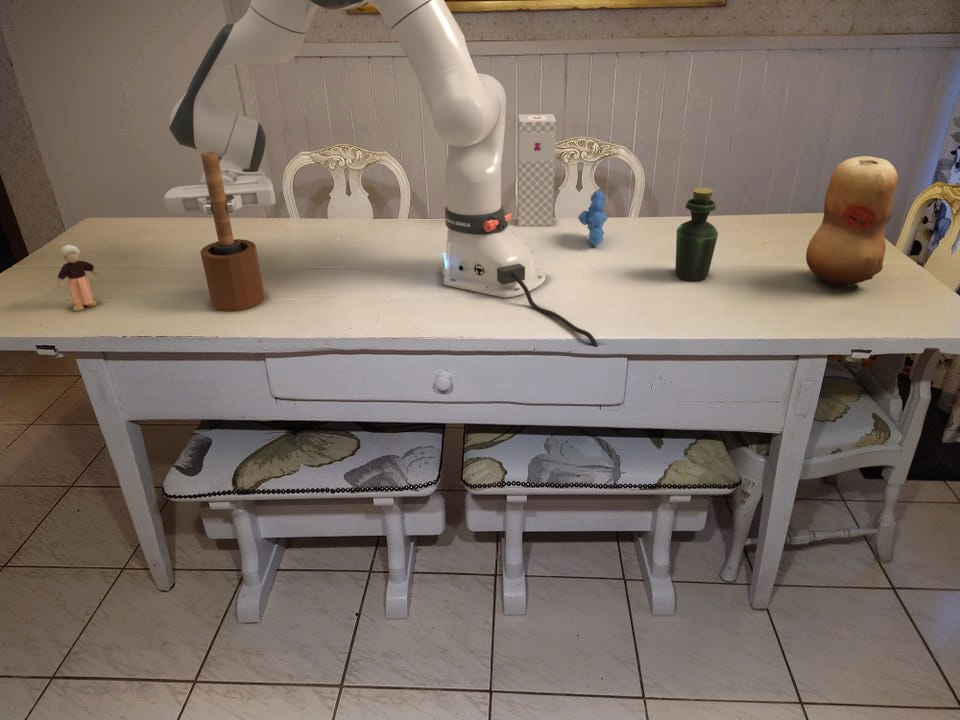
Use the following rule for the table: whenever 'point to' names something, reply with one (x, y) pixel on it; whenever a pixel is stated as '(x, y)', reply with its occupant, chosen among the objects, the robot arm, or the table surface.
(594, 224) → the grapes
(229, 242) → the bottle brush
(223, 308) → the cylindrical container
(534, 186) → the box
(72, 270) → the grandmother figurine
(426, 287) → the table surface
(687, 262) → the potion bottle
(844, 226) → the butternut squash
